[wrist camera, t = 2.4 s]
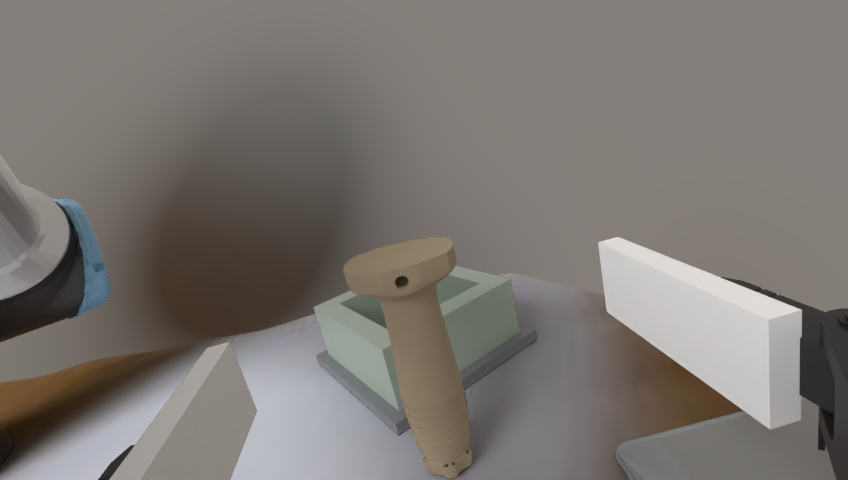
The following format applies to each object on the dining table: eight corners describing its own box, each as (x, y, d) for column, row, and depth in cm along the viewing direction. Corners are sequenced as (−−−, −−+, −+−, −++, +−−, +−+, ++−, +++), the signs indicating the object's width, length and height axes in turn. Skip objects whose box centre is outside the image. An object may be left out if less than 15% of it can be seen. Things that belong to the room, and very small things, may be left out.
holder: (318, 363, 45) (300, 309, 43) (435, 302, 53) (424, 254, 52) (398, 435, 32) (377, 361, 30) (536, 339, 40) (526, 276, 39)
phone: (611, 460, 27) (609, 443, 26) (852, 397, 27) (853, 380, 27) (708, 600, 19) (706, 578, 18) (1043, 507, 19) (1049, 485, 19)
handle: (505, 480, 26) (458, 254, 22) (404, 504, 26) (338, 282, 22) (489, 426, 31) (447, 231, 27) (402, 446, 31) (348, 254, 27)
